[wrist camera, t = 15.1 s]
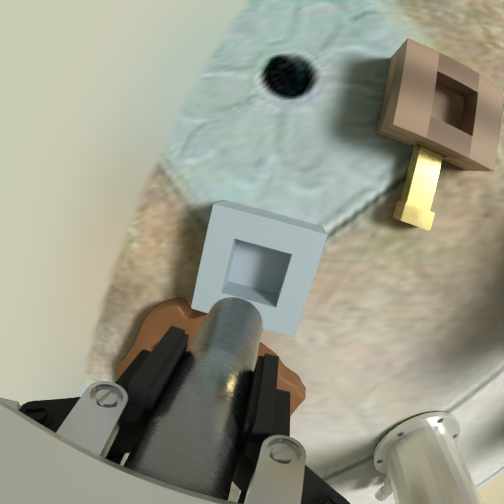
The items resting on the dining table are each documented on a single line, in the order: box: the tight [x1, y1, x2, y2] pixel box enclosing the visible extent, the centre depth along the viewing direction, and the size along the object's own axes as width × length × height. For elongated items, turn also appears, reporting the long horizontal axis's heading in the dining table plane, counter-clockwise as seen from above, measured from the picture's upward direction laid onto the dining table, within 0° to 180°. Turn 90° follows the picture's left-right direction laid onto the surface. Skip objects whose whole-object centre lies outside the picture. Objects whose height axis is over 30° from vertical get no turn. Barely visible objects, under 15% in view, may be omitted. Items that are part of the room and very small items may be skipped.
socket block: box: [376, 38, 504, 171], centre depth 21 cm, size 8×10×5 cm
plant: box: [116, 298, 306, 416], centre depth 28 cm, size 20×20×11 cm
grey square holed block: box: [191, 200, 327, 337], centre depth 27 cm, size 9×9×4 cm
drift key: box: [392, 143, 443, 231], centre depth 24 cm, size 12×3×2 cm, turn 166°
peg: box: [123, 297, 263, 501], centre depth 9 cm, size 3×3×13 cm
